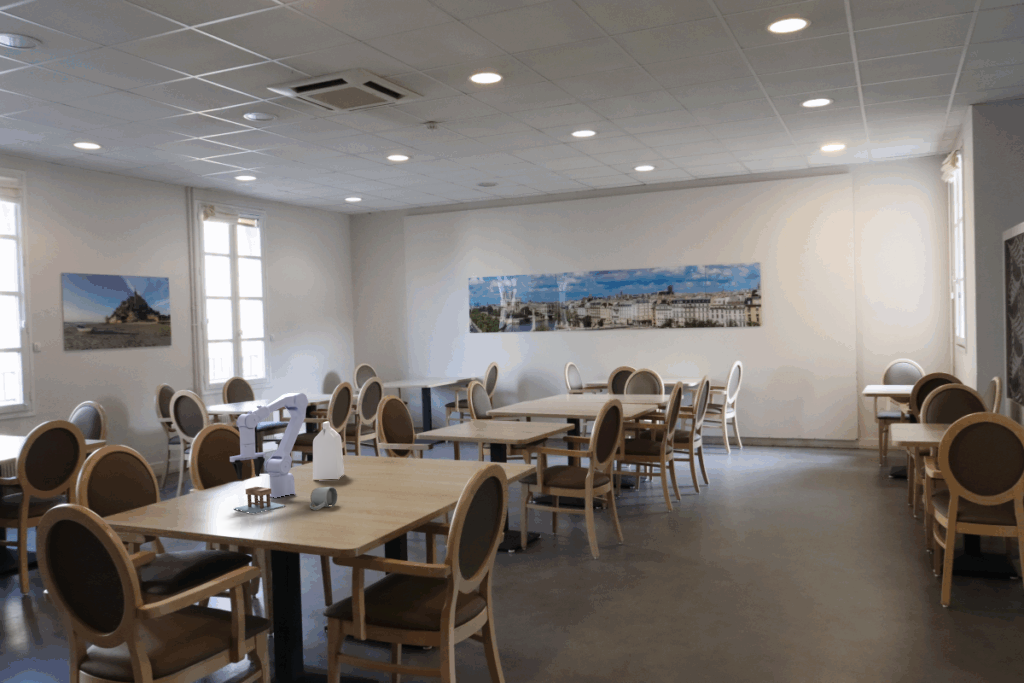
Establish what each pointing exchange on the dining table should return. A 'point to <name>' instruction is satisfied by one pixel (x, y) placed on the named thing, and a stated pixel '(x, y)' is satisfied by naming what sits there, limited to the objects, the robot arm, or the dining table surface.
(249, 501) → the stool
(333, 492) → the ceramic mug
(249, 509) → the mat
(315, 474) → the milk
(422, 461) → the dining table surface
